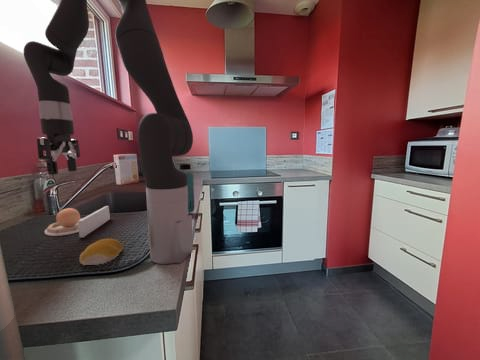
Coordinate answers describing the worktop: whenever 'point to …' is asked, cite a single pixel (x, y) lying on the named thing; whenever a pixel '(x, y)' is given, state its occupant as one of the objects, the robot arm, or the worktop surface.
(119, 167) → the cracker box
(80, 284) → the worktop surface
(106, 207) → the wall
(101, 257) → the bread roll
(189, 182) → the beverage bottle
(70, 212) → the ball
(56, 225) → the saucer
